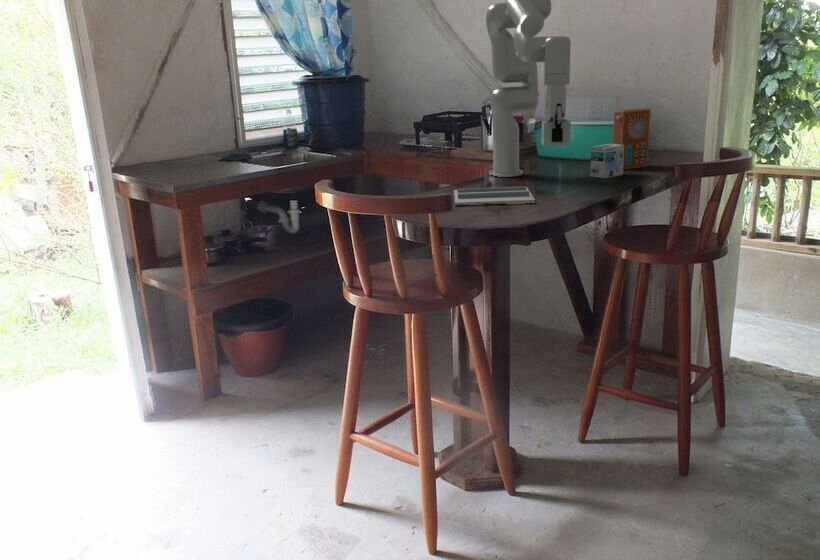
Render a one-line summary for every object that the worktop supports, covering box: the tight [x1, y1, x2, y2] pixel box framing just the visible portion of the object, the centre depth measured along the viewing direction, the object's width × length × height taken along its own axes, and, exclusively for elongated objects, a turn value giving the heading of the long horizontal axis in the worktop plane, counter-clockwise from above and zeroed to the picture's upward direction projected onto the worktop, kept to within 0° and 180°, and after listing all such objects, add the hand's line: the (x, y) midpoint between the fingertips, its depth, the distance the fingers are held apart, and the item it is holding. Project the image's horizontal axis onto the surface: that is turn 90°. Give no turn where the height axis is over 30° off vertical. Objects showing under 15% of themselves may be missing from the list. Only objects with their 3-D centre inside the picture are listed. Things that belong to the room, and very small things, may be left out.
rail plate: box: [453, 185, 536, 205], centre depth 219 cm, size 20×24×3 cm
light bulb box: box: [589, 143, 624, 179], centre depth 246 cm, size 11×7×11 cm, turn 126°
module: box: [541, 118, 572, 147], centre depth 214 cm, size 5×8×7 cm, turn 88°
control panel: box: [612, 107, 652, 170], centre depth 259 cm, size 21×7×15 cm
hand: (555, 139), depth 215 cm, fingers closed on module, 5 cm apart
